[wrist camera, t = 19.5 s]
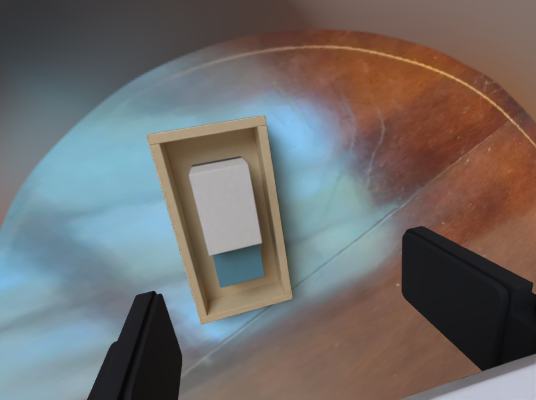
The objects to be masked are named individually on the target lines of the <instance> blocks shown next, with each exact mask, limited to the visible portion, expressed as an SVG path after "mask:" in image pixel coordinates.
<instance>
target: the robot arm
mask: <svg viewBox="0 0 536 400" xmlns="http://www.w3.org/2000/svg"><path fill="white" fill-rule="evenodd" d="M532 287H533V283H532V282H530V281H528V280H526V279H524V278H522V277H520V276H518V275H516V274H514V273H512V272H511V271H509V270H507V269H505V268H503V267H501V266H499V265H497V264H495V263H493V262H491V261H489V260H487V259H485V258H483V257H482V256H480V255H478V254H476V253H474V252H472V251H470V250H468V249H466V248H464V247H462V246H460V245H458V244H456V243H454V242H453V241H451V240H449V239H447V238H445V237H443V236H441V235H439V234H437V233H435V232H433V231H431V230H429V229H427V228H425V227H423V226H420V227H416V228H411V229H408V230H406V232H405V234H404V235H403V238H402V294H403V296H404V298H405V299H406V300H407V301H408V302H409V303H410V304H411V305H412V306H413V307H414V308H415V309H417V310H418V311H419V312H420V313H421V314H422V315H423V316H424V317H425V318H426V319H427V320H428V321H429V322H430V323H431V324H433V325H434V326H435V327H436V328H437V329H438V330H439V331H440V332H441V333H442V334H443V335H444V336H445V337H446V338H447V339H449V340H450V341H451V342H452V343H453V344H454V345H455V346H456V347H457V348H458V349H459V350H460V351H461V352H462V353H464V354H465V355H466V356H467V357H468V358H469V359H470V360H471V361H472V362H473V363H474V364H475V365H476V366H477V367H478V368H480V369H481V370H482V372H479V373H476V374H473V375H470V376H467V377H464V378H461V379H458V380H455V381H452V382H449V383H446V384H443V385H440V386H438V387H435V388H432V389H429V390H426V391H423V392H420V393H417V394H414V395H411V396H408V397H405V398H403V399H400V400H536V294H534V293H532ZM181 368H182V354H181V350H180V347H179V344H178V341H177V338H176V335H175V332H174V329H173V326H172V323H171V320H170V317H169V314H168V311H167V307H166V304H165V301H164V298H163V296H162V294H156V292H155V291H151V292H147V293H143V294H139V295H136V297H135V299H134V302H133V304H132V307H131V309H130V311H129V314H128V316H127V319H126V321H125V324H124V326H123V329H122V331H121V333H120V336H119V338H118V341H116V342H114V343H113V344H112V345H111V346H110V348H109V350H108V353H107V355H106V357H105V359H104V362H103V364H102V366H101V369H100V371H99V373H98V376H97V378H96V380H95V383H94V385H93V387H92V390H91V392H90V394H89V397H88V399H87V400H178V395H179V386H180V377H181Z"/></svg>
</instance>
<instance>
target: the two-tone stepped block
mask: <svg viewBox="0 0 536 400" xmlns="http://www.w3.org/2000/svg"><path fill="white" fill-rule="evenodd" d="M189 178H190V182H191V186H192V190H193V194H194V198H195V202H196V206H197V210H198V214H199V218H200V222H201V226H202V230H203V234H204V238H205V242H206V246H207V250H208V254H209V256H211V255H212V257H213V261H214V265H215V269H216V273H217V277H218V281H219V285H220V288H223V287H226V286H230V285H234V284H238V283H242V282H246V281H250V280H253V279H257V278H261V277H265V273H264V268H263V262H262V257H261V251H260V246H259V244H261V243H262V238H261V233H260V227H259V221H258V216H257V210H256V204H255V199H254V193H253V188H252V182H251V176H250V171H249V165H248V163H247V162H246V161H245V160H244V159H243V158H242V157H241V156H238V157H233V158H227V159H222V160H217V161H211V162H206V163H200V164H195V165H192V167H191V170H190V173H189Z"/></svg>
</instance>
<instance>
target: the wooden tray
mask: <svg viewBox="0 0 536 400" xmlns="http://www.w3.org/2000/svg"><path fill="white" fill-rule="evenodd" d="M147 140H148V143H149V145H150V146H149V147H150V150H151V154H152V157H153V160H154V164H155V167H156V171H157V174H158V178H159V181H160V185H161V188H162V192H163V195H164V198H165V202H166V205H167V209H168V212H169V216H170V219H171V223H172V226H173V230H174V233H175V236H176V240H177V243H178V247H179V250H180V254H181V257H182V261H183V264H184V267H185V271H186V274H187V278H188V281H189V285H190V288H191V292H192V295H193V299H194V302H195V305H196V309H197V312H198V316H199V319H200V323H201V324H205V323H208V322H212V321H216V320H219V319H223V318H226V317H230V316H233V315H237V314H241V313H244V312H248V311H251V310H255V309H259V308H262V307H266V306H269V305H273V304H276V303H280V302H284V301H287V300H291V299H293V297H292V291H291V284H290V277H289V271H288V264H287V258H286V251H285V244H284V238H283V231H282V224H281V218H280V211H279V204H278V198H277V191H276V184H275V178H274V171H273V165H272V158H271V151H270V145H269V138H268V131H267V126H266V118H265V116H255V117H249V118H243V119H237V120H231V121H225V122H219V123H213V124H207V125H201V126H194V127H188V128H182V129H176V130H170V131H164V132H158V133H153V134H149V135H147ZM238 156H241V157H242V158H243V159H244V160H245V161H246V162H247V163H248V165H249V171H250V176H251V182H252V188H253V193H254V199H255V204H256V210H257V216H258V221H259V227H260V233H261V238H262V243H261V244H259V246H260V251H261V257H262V262H263V268H264V273H265V277H261V278H257V279H253V280H250V281H246V282H242V283H238V284H234V285H230V286H226V287H223V288H220V285H219V281H218V277H217V273H216V269H215V265H214V261H213V257H212V255H211V256H209V254H208V250H207V246H206V242H205V238H204V234H203V230H202V226H201V222H200V218H199V214H198V210H197V206H196V202H195V198H194V194H193V190H192V186H191V182H190V178H189V173H190V170H191V167H192V165H195V164H200V163H206V162H211V161H217V160H222V159H227V158H233V157H238Z"/></svg>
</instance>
